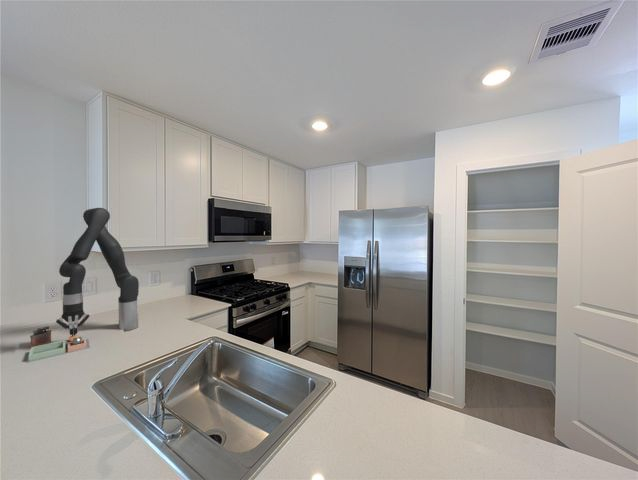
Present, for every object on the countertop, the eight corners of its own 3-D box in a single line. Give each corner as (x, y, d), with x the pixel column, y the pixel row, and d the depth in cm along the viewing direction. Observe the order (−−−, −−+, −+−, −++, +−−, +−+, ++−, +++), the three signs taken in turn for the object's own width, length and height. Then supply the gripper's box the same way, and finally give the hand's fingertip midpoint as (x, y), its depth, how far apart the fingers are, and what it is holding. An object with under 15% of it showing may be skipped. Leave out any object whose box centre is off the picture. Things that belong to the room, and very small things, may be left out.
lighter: (33, 351, 124) (33, 331, 124) (28, 350, 125) (27, 330, 124) (53, 344, 132) (53, 325, 132) (48, 343, 133) (48, 325, 132)
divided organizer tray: (88, 341, 136) (88, 334, 136) (89, 350, 126) (89, 342, 126) (29, 354, 121) (29, 346, 121) (26, 365, 111) (25, 357, 111)
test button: (78, 341, 132) (78, 334, 132) (79, 344, 130) (78, 336, 130) (69, 343, 130) (69, 336, 130) (69, 346, 127) (69, 338, 127)
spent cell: (81, 345, 128) (80, 335, 128) (81, 347, 126) (81, 337, 126) (73, 347, 126) (72, 337, 126) (73, 349, 124) (72, 338, 124)
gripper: (90, 298, 136) (90, 329, 137) (54, 302, 127) (55, 336, 128) (90, 301, 131) (91, 333, 132) (54, 306, 122) (54, 341, 122)
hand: (73, 334), depth 130 cm, fingers closed
